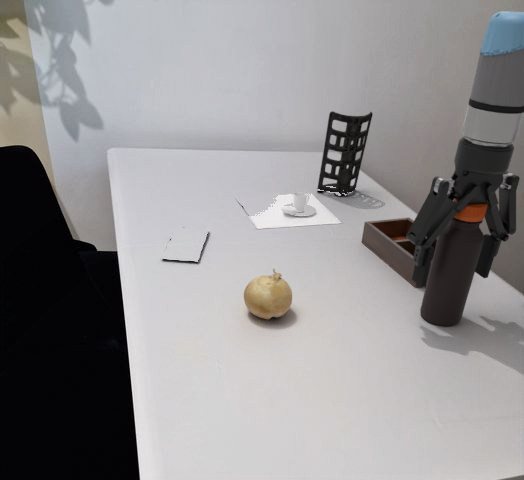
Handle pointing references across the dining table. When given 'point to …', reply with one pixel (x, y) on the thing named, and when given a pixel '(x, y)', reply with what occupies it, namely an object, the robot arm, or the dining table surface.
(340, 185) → the holder
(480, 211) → the dark bottle
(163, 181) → the dining table surface
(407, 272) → the bottle holder
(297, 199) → the teacup and saucer
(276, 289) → the onion
